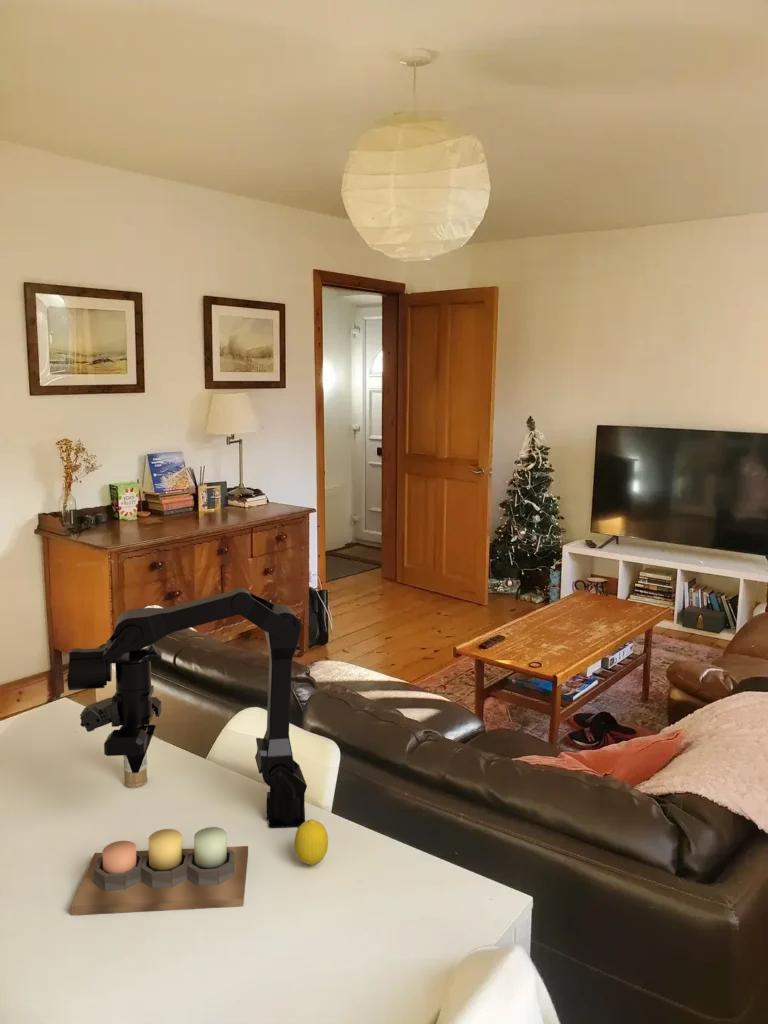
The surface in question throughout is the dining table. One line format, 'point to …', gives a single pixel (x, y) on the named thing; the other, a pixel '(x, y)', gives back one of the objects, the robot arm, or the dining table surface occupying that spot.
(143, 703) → the robot arm
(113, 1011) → the dining table surface
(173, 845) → the button ochre
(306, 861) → the lemon
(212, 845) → the button sage
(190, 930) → the dining table surface
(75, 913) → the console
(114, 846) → the button terracotta
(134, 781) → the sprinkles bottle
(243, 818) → the dining table surface
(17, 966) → the dining table surface
